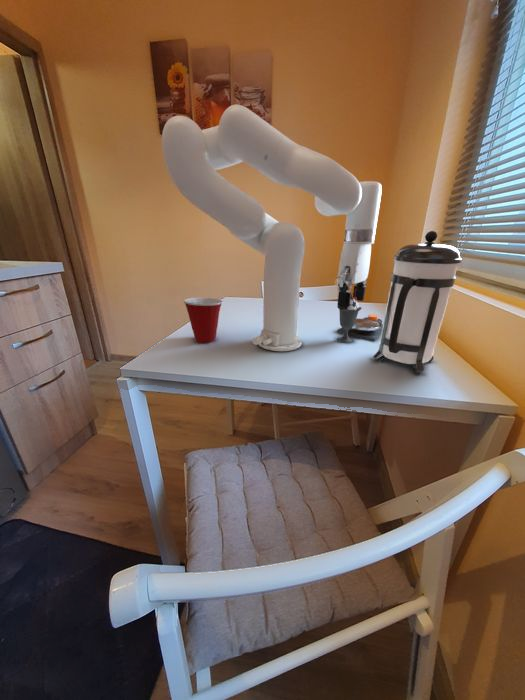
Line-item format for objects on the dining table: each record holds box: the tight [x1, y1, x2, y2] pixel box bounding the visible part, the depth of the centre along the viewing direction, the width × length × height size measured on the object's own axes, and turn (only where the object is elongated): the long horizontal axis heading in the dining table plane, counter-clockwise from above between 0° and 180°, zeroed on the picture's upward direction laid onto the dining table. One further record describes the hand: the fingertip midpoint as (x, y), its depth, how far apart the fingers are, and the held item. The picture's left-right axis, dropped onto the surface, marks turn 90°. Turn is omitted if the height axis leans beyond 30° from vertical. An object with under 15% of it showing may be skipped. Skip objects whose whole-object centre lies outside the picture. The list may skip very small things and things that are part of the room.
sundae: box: [335, 289, 362, 344], centre depth 80 cm, size 7×7×15 cm
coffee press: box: [372, 230, 462, 374], centre depth 63 cm, size 17×16×30 cm
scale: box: [336, 316, 383, 342], centre depth 91 cm, size 16×12×2 cm
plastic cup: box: [183, 297, 224, 344], centre depth 79 cm, size 11×11×12 cm
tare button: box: [367, 314, 379, 321], centre depth 94 cm, size 3×3×2 cm
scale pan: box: [352, 318, 380, 331], centre depth 88 cm, size 10×10×1 cm
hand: (350, 303), depth 78 cm, fingers open, 9 cm apart
